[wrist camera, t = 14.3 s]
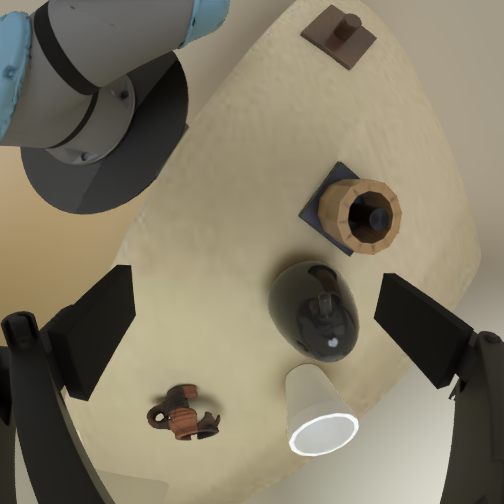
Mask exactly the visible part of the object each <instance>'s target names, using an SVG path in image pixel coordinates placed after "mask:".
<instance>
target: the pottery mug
mask: <svg viewBox="0 0 504 504" xmlns="http://www.w3.org/2000/svg"><path fill="white" fill-rule="evenodd" d="M197 396H198V393H197V391H196V387H195V386H194V385H186V386H181V387H176V388H173V389H171V390H170V391H168V393H167V396H166V400H165V402H163V403H162V404H160V405H157V406H155V407H153V408H152V409H150V410H149V412H148V414H147V419H148V423H149V424H150V425H151V426H152V427H154V428H156V429H168V430H171V431H172V432H173V433H175V438H176V439H177V440H191V435H195V434H197V439H203V438H207V437H210V436H213V435H215V434H217V433H218V432H219V430H218V427H217V426H218V424H219V422H220V415H218V416H217V419H216V420H214V418H213V416H212V414H211V413H210V412H205V416H204V417H203V419H202V420H201V421H200V422H198V423H197V413H196V411H195V410H194V409H192V408H189V405H188V403H187V400H186V399H187V398H191V397H197ZM160 413H162V414H163V416H164V418H163V419H162V420H161V421H156V420H155V418H156V416H157V415H158V414H160ZM169 417H170V418H171V419H169Z"/></svg>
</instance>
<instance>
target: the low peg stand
mask: <svg viewBox="0 0 504 504" xmlns="http://www.w3.org/2000/svg"><path fill="white" fill-rule="evenodd" d="M361 24H362V23H361V20H360V18H359V17H358V16H356V15H354V14H345V13H343V12H342V11H341V10H339V9H338V8H336V7H335V6H333V5H330V6H329V7H328V8H327V9H326V10H325V11H324V12H323V13H321V14H320V15H319V16H318V17H317V18H316V19H315V20H314V21H313V22H312V23H311V24H310V25H309V26H308V27H307V28H306V29H304V30H303V31H302V33H301V36H302V37H304V38H305V39H307V40H308V41H310V42H311V43H313V44H314V45H316V46H317V47H319V48H320V49H321V50H323V51H324V52H325V53H327V54H328V55H330V56H331V57H332V58H334V59H335V60H336V61H337V62H339V63H340V64H341V65H343V66H344V67H345V68H346V69H348V70H350V69H351V68H352V67H353V66H354V65H355V64H356V62H357V61H358V60H359V59H360V58H361V56H362V55H363V54H364V53H365V52H366V50H367V49H368V48H369V47H370V46H371V45H372V43H373V42H374V41H375V40H376V39H377V38H376V37H375V36H374V35H373V34H371V33H370V32H369V31H368V30H366V29H365V28H364V27H363V26H361Z"/></svg>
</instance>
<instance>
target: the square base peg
mask: <svg viewBox="0 0 504 504" xmlns="http://www.w3.org/2000/svg"><path fill="white" fill-rule="evenodd" d="M343 179H360V178H359V177H358V176H356V175H355V174H354V173H353V172H352V171H351V170H350V169H349V168H348V167H346V166H345V165H344V164H343V163H342V162H338V163H337V164H336V165H335V167H334V168H333V170H332V171H331V172H330V174H329V175H328V176H327V178H326V179H325V181H324V182H323V183H322V185H321V186H320V187H319V189H318V190H317V191H316V193H315V194H314V195H313V197H312V198H311V200H310V201H309V202H308V204H307V205H306V206H305V208H304V209H303V210H302V212H301V213H300V214H299V217H300V218H302V219H303V220H304V221H305V222H307V223H308V224H309V225H311V226H312V227H313V228H314V229H316V230H317V231H318V232H319V233H321V234H322V235H323V236H325V237H326V238H327V239H328V240H330V241H331V242H332V243H333V244H334V245H336V246H337V247H338V248H339V249H341V250H342V251H343V252H344V253H346V254H347V255H348V256H351V255H352V254H353V252H354V251H353V250H351V249H350V248H348V247H346V246H345V245H343V244H341V243H340V242H338V241H336V240H335V239H334V238H332V237H331V236H330V235H329V234H327V233H326V232H325V231H324V230H323V228H322V225H321V223H320V220H319V217H318V208H319V200H320V197H321V196H322V194H323V193H324V192H325V190H326V189H327V188H328V186H329V185H330V184H333V183H335V182H338V181H340V180H343ZM348 224H349V227H350V230H351V231H353V230H355V229H358V228H359V227H360V225H362V226H364V227H367V228H370V229H372V230H375V231H383V230H384V229H385V228H386V227H387V226H388V224H389V215H388V213H387V211H386V210H385V209H383V208H379V207H374V206H369V205H365V202H364V199H363V197H362V196H361V195H358V196H357V197H356V199H355V200H354V202H353V203H352V204H351V206H350V208H349V215H348Z"/></svg>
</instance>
